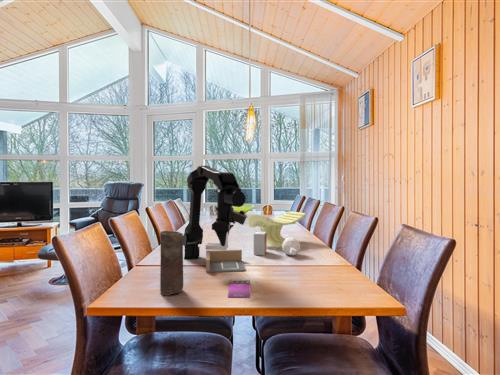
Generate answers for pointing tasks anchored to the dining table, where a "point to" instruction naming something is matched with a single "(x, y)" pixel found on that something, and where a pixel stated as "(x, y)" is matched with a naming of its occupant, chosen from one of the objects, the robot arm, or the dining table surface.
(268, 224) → the slatted curved stool
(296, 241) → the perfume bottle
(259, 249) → the small box
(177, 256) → the grey-brown tall block
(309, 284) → the dining table surface
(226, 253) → the corner tray
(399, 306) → the dining table surface
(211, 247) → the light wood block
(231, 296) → the smartphone
